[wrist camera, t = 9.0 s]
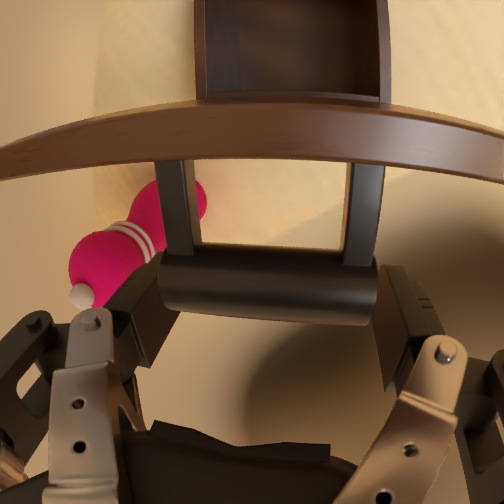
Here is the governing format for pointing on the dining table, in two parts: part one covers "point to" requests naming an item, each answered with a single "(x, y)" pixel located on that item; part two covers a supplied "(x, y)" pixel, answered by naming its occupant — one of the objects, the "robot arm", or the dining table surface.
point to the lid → (267, 147)
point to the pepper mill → (119, 249)
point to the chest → (293, 49)
